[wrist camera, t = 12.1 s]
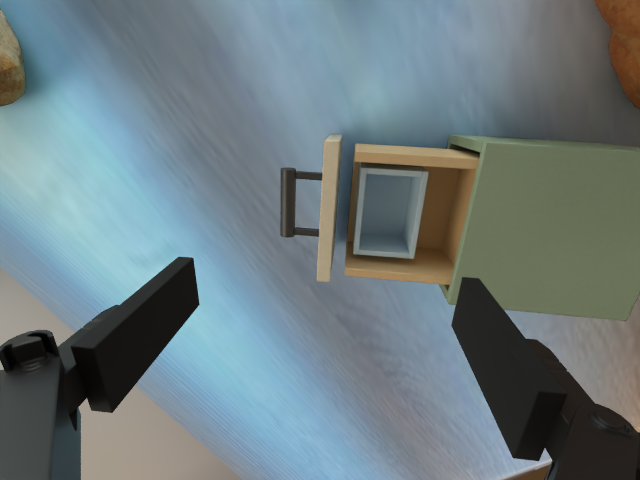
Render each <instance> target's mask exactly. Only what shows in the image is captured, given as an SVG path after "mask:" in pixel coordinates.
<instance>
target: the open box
mask: <svg viewBox="0 0 640 480" xmlns="http://www.w3.org/2000/svg"><path fill="white" fill-rule="evenodd" d="M428 174H429V172H428V171H427V170H426V169H424V168H423V167H422V166H414V165H398V164H383V163H368V162H360V164H359V175H358V187H357V198H356V209H355V220H354V231H353V254H359V255H371V256H383V257H396V258H409V259H414V256H415V250H416V244H417V238H418V232H419V226H420V221H421V215H422V209H423V203H424V197H425V192H426V186H427V180H428Z"/></svg>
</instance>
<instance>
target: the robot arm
mask: <svg viewBox="0 0 640 480" xmlns="http://www.w3.org/2000/svg"><path fill="white" fill-rule="evenodd" d="M198 306H199V298H198V290H197V283H196V275H195V267H194V260H193V258H189V257H178V258H177V259H175V260H174V261H173V262H172V263H170V264H169V265H168V266H167V267H166V268H164V269H163V270H162V271H161V272H160V273H158V274H157V275H156V276H155V277H153V278H152V279H151V280H150V281H149V282H147V283H146V284H145V285H144V286H142V287H141V288H140V289H139V290H138V291H136V292H135V293H134V294H133V295H132V296H130V297H129V298H128V299H127V300H125V301H124V302H123V303H122V304H121V305H115V306H113V307H111V308H109V309H107V310H105V311H103V312H101V313H100V314H99V315H97V316H96V317H95V318H94V319H92V321H90V322H89V323H87V324H86V325H85V326H84V327H83V328H81V329H80V330H78V331H77V332H76V333H75V334H74V335H72V336H71V337H70V338H68V339H67V340H66V341H65V342H63V343H62V344H61V345H60V346H58V347H57V345H56V342H55V339H54V336H53V334H52V332H50V331H47V330H36V331H30V332H27V333H24V334H21V335H18V336H16V337H14V338H12V339H10V340H8V341H7V342H6V343H4V344H3V345H1V346H0V361H1V363H2V365H3V367H4V370H0V480H81V414H80V411H79V408H78V407H79V406H80V405H81V404H82V402H83V401H84V400H85V399H86V398H87V399H88V402H89V405H90V408H91V410H92V411H101V412H110V413H112V412H113V411H114V410H115V409H116V408H117V406H118V405H119V404H120V403H121V401H122V400H123V399H124V397H125V396H126V395H127V394H128V393H129V391H130V390H131V389H132V388H133V386H134V385H135V384H136V383H137V382H138V380H139V379H140V378H141V377H142V375H143V374H144V373H145V372H146V370H147V369H148V368H149V367H150V365H151V364H152V363H153V362H154V360H155V359H156V358H157V357H158V355H159V354H160V353H161V352H162V350H163V349H164V348H165V347H166V345H167V344H168V343H169V342H170V340H171V339H172V338H173V337H174V335H175V334H176V333H177V332H178V331H179V329H180V328H181V327H182V326H183V324H184V323H185V322H186V321H187V319H188V318H189V317H190V316H191V314H192V313H193V312H194V311H195V309H196V308H197V307H198ZM451 326H452V328H453V330H454V332H455V334H456V336H457V339H458V341H459V343H460V345H461V347H462V349H463V351H464V354H465V356H466V358H467V360H468V362H469V364H470V367H471V369H472V371H473V373H474V375H475V377H476V379H477V382H478V384H479V386H480V388H481V390H482V392H483V395H484V397H485V399H486V401H487V403H488V405H489V407H490V410H491V412H492V414H493V416H494V418H495V420H496V423H497V425H498V427H499V429H500V431H501V433H502V436H503V438H504V440H505V442H506V444H507V446H508V448H509V451H510V453H511V455H512V457H513V458H517V459H526V460H535V461H539V460H540V457H541V455H542V453H543V450H544V448H546V450H547V452H548V453H549V455H550V457H551V459H552V460H553V461H552V463H551V466H550V468H549V470H548V472H547V474H546V476H545V479H544V480H640V433H638V432H637V431H636V430H635V429H634V428H633V426H632V425H631V424H630V423H629V422H628V421H627V420H626V419H624V418H623V417H622V416H621V415H619V414H617V413H616V412H614V411H612V410H611V409H609V408H606V407H604V406H601V405H599V404H595V403H594V402H593V401H592V399H591V398H590V397H589V396H588V395H587V393H586V392H585V391H584V390H583V389H582V387H581V386H580V385H579V384H578V383H577V381H576V380H575V379H574V378H573V377H572V375H571V374H570V373H569V372H567V369H566V368H565V367H564V366H563V365H562V363H559V360H558V359H557V357H556V356H555V355H554V354H553V353H552V351H551V350H550V349H549V348H547V347H546V346H544V345H543V344H542V343H540V342H539V341H538V340H535V339H525V337H524V336H523V335H522V334H521V332H520V331H519V330H518V328H517V327H516V326H515V324H514V323H513V322H512V320H511V319H510V318H509V317H508V315H507V314H506V313H505V311H504V310H503V309H502V307H501V306H500V305H499V303H498V302H497V301H496V300H495V298H494V297H493V296H492V294H491V293H490V292H489V290H488V289H487V288H486V286H485V285H484V284H483V283H482V281H481V280H480V279H479V278H470V277H462V280H461V285H460V289H459V294H458V298H457V303H456V307H455V312H454V316H453V321H452V325H451Z"/></svg>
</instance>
